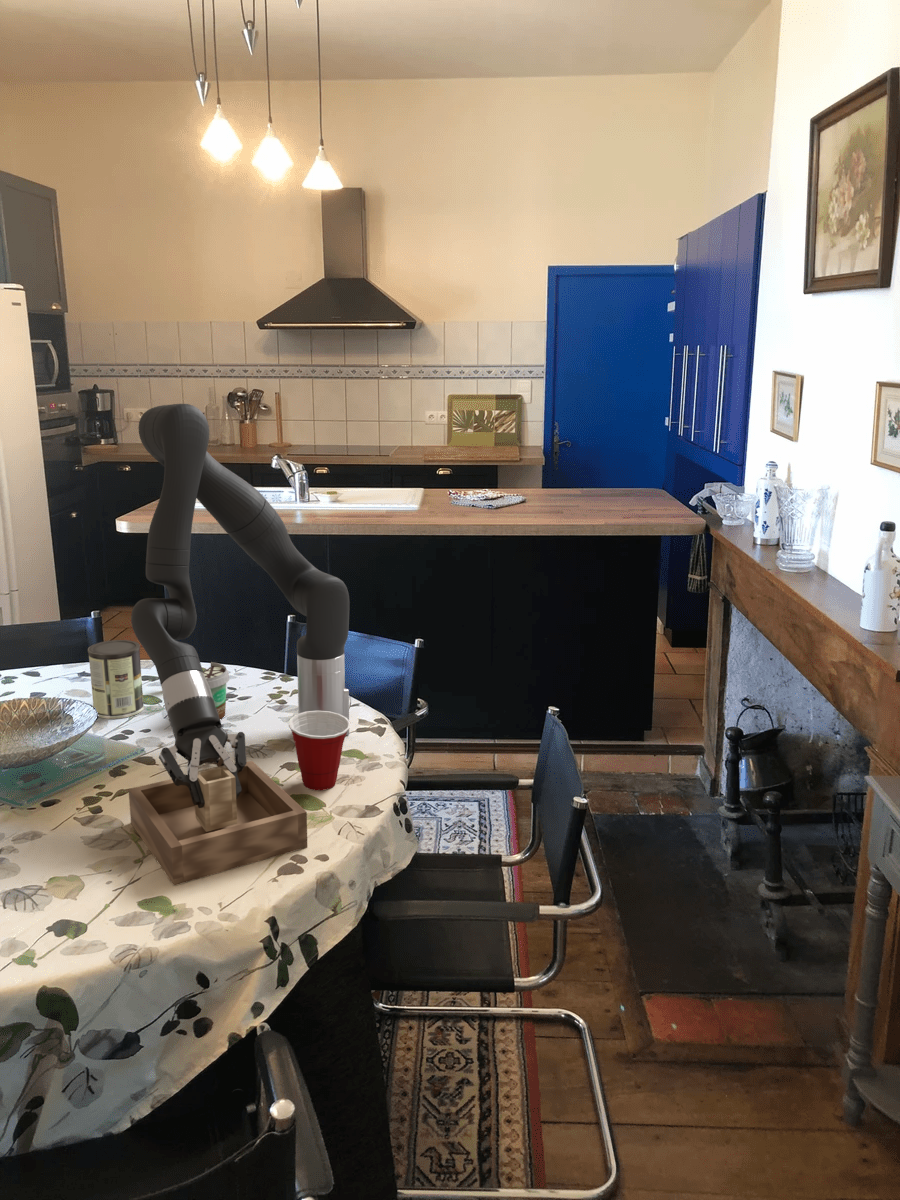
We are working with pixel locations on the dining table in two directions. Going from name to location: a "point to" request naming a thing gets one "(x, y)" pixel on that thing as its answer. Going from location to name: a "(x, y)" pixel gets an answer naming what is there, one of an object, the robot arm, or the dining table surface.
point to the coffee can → (116, 678)
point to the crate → (194, 853)
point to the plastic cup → (319, 746)
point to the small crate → (217, 798)
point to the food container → (218, 685)
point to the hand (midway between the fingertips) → (219, 801)
